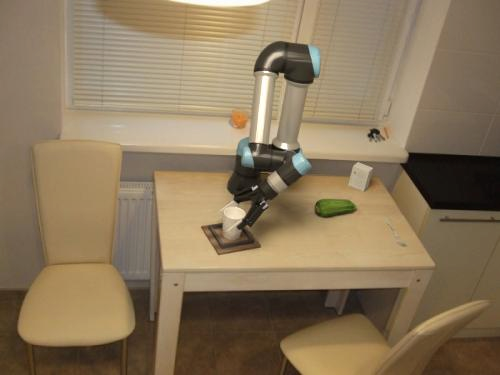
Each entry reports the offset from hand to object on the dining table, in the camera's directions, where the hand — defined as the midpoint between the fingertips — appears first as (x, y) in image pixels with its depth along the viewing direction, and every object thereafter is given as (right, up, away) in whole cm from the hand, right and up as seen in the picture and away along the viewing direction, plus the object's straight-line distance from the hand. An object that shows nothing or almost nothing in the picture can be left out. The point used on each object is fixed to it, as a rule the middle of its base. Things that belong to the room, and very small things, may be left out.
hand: (225, 222), depth 198 cm
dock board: (+2, -6, +4) cm, 7 cm away
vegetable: (+44, +2, +30) cm, 54 cm away
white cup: (+2, -5, +4) cm, 7 cm away
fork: (+67, -5, +26) cm, 72 cm away
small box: (+58, +13, +53) cm, 80 cm away
